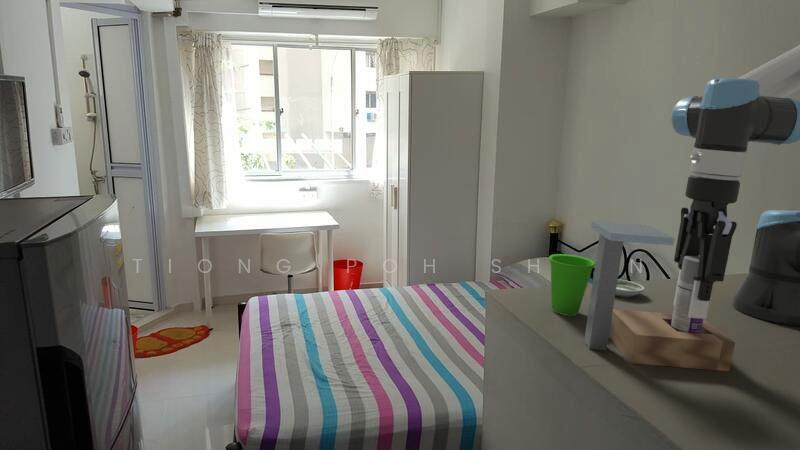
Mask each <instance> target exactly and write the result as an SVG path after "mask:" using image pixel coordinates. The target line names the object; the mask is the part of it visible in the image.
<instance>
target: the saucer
mask: <svg viewBox="0 0 800 450" xmlns="http://www.w3.org/2000/svg"><path fill="white" fill-rule="evenodd" d="M643 292H645V287H644V286H643V285H641V284H640V283H638V282H634V281H629V280H626V279H620V278H619V279H618V280H617V286H616V293H615V297H616V296H617V297H622V298H631V297H634V296H638V295H640V294H641V293H643Z"/></svg>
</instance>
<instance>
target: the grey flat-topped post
mask: <svg viewBox="0 0 800 450" xmlns="http://www.w3.org/2000/svg"><path fill="white" fill-rule="evenodd" d="M590 228H591V229H592V230H594V231H595V232H597V233H598V234H599V236H598V237H599V239H598V245H597V251H596V259H595V266H594V271H593V277H592V278H593V279H592V285H591V286H592V287H591V292H590V293H591V294H590V299H589V305H588V313H587V318H586V325H585V334H584V339H583V340H584V341H585V342H586V344H587V345H586V344H585V345H586V346H588V347H587V348H588V349H589V350H598V351H607V349H608V342H609V339H610V338H609V331H610V325H611V318H612V312H613V309H614V305H615V298H616V295H615V293H616V286H617V280H618V278H619V272H620V266H621V259H622V255H623V254H622V253H623V246H624V242H626V243H637V244H648V245H649V244H650V245H661V246H662V245H663V246H674V244H675V237H673V236H672V235H669V234H667V233H666V232H663V231H661V230H659V229H658V228H655V227H653V226H651V225H647V224H634V223H620V222H608V221H607V222H606V221H597V220H592V221H591V225H590ZM584 341H583V342H584ZM585 342H584V343H585Z"/></svg>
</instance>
